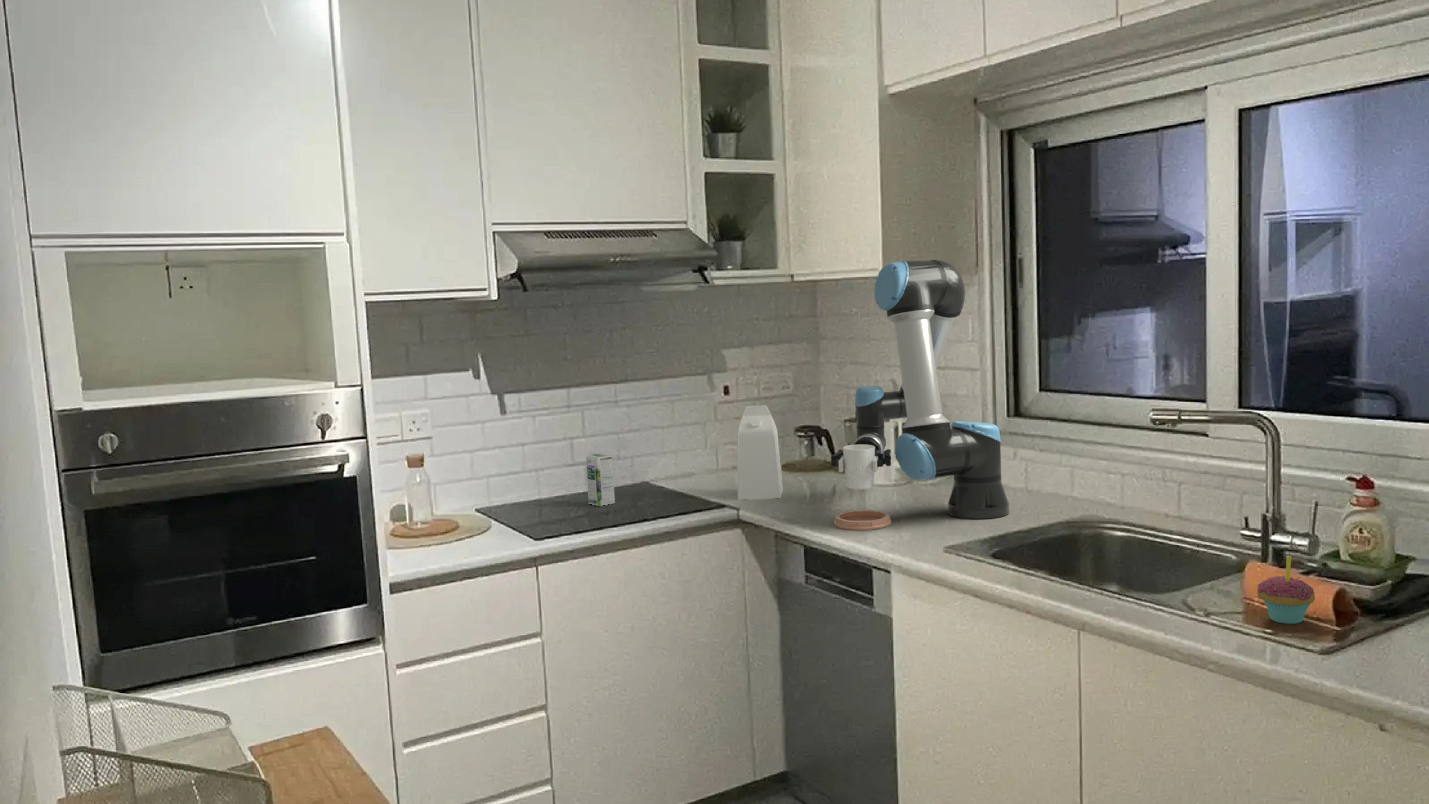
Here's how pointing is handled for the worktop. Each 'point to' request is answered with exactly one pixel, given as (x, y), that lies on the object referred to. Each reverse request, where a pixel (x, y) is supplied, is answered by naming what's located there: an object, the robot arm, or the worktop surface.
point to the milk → (758, 455)
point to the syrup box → (600, 479)
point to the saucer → (862, 520)
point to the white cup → (859, 466)
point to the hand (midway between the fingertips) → (857, 466)
